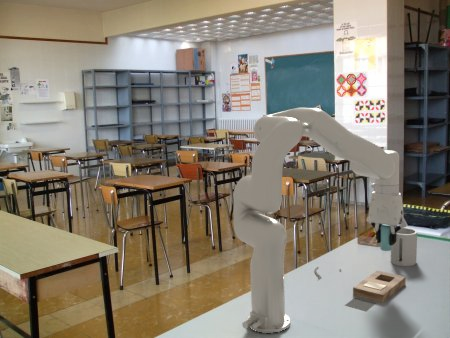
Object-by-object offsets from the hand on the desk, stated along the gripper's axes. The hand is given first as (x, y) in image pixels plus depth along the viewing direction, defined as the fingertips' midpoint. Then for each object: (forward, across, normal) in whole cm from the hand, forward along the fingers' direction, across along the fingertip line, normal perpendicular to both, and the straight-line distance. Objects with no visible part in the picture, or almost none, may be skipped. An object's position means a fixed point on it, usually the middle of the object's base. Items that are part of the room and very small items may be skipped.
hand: (386, 242), depth 165 cm
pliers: (+16, -19, -4) cm, 25 cm away
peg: (+2, 0, 0) cm, 2 cm away
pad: (+15, 0, -18) cm, 24 cm away
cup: (+16, -4, +26) cm, 30 cm away
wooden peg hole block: (+15, 0, -4) cm, 16 cm away
